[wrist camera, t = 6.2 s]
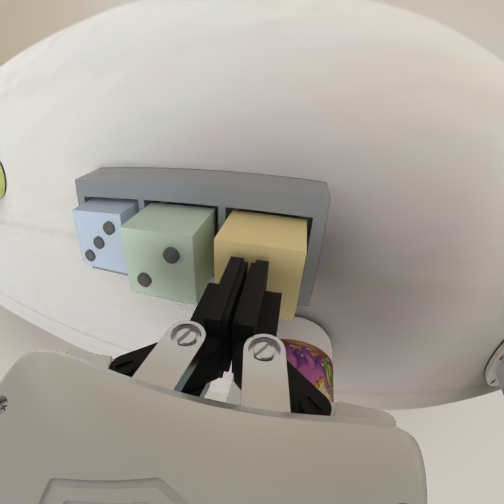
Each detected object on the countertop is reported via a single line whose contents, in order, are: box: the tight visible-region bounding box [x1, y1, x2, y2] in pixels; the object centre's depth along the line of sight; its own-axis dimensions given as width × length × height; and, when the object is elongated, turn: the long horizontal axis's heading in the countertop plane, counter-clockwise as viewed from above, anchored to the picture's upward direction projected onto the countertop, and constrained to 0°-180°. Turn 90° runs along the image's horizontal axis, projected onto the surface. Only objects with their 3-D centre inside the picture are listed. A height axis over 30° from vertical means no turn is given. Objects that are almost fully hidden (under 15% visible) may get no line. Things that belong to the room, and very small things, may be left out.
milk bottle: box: [226, 316, 333, 405], centre depth 14 cm, size 8×8×20 cm
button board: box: [75, 168, 330, 306], centre depth 17 cm, size 16×7×3 cm, turn 86°
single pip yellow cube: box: [214, 210, 307, 321], centre depth 14 cm, size 4×4×4 cm
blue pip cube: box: [72, 197, 139, 274], centre depth 17 cm, size 4×4×4 cm
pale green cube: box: [119, 203, 215, 305], centre depth 15 cm, size 4×4×4 cm
